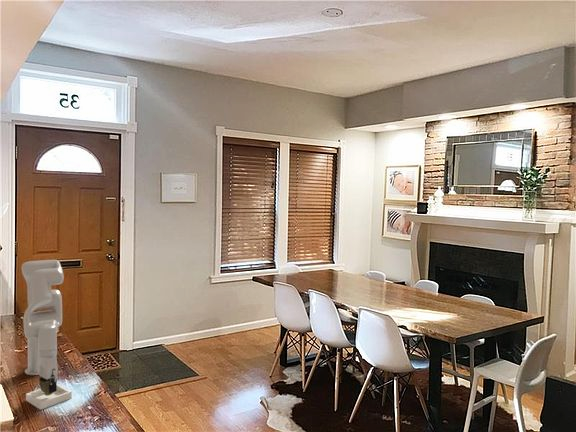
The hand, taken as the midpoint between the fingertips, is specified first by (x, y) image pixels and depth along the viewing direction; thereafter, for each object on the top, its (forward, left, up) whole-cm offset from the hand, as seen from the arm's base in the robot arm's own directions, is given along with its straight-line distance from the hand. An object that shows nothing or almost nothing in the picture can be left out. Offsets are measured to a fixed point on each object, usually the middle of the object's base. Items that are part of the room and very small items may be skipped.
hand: (48, 389), depth 212 cm
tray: (0, 0, -5) cm, 5 cm away
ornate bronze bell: (0, 0, -3) cm, 3 cm away
